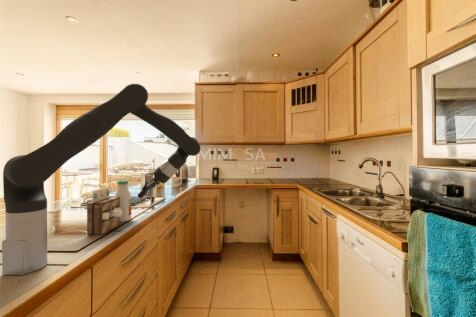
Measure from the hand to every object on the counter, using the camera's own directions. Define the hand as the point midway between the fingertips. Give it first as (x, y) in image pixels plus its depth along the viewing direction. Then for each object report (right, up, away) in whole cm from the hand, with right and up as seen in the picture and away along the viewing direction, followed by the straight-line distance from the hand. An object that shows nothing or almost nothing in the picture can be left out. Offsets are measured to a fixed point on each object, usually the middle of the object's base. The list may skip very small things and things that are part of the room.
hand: (139, 196), depth 112 cm
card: (-16, -1, -3) cm, 16 cm away
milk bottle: (-13, -14, +11) cm, 22 cm away
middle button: (-9, -8, -3) cm, 13 cm away
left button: (-13, -8, -8) cm, 17 cm away
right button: (-12, -8, +1) cm, 15 cm away
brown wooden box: (-14, -14, -3) cm, 20 cm away
